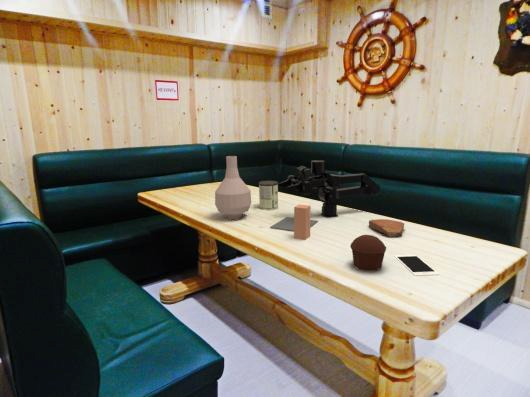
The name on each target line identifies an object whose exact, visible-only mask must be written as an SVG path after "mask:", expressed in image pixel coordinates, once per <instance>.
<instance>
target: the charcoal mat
mask: <svg viewBox="0 0 530 397" xmlns="http://www.w3.org/2000/svg"><path fill="white" fill-rule="evenodd" d="M318 222H319V220H316V219H310V229H311V228H312V227H313V226H315V225H316V224H317V223H318ZM269 229H274V230H281V231H287V232H293V233H294V217H291V216H286V217H284V218H283V219H281V220H279V221H278V222H276V223H274V224H273V225H270V227H269Z"/></svg>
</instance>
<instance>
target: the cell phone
mask: <svg viewBox="0 0 530 397" xmlns="http://www.w3.org/2000/svg"><path fill="white" fill-rule="evenodd" d="M394 258H396V260H397V261H399V263H401V264H402V265H403V266H404V267H405V268H406V269H407V270H408V271H409V272H410V273H411V274H412V275H413V276H414V277H415V276H416V277H419V276H420V277H421V276H422V277H423V276H424V277H425V276H426V277H427V276H438V275H440V273H439V272H438V271H437V270H435V269H434V268H432V266H431V265H429V264H428V263H427V262H425V261H424V260H423V259H422V258H421V257H419V256H418V255H417V254H397V255H394Z"/></svg>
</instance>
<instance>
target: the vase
mask: <svg viewBox="0 0 530 397" xmlns="http://www.w3.org/2000/svg"><path fill="white" fill-rule="evenodd" d="M237 158H238V156H236V155H228V156H227V155H226V156H225V159H226V170H225V175H224V178H223V180H222V182H221V183H220V184H219V186H218V187H217V188H216V189H215V191H214V205H215V207H216V209H217V211H218V213H221V214H223V215H226V218H228V219H231V220H236V219H240V218H241V215H243V214H244V213H246V212H249V210H250V208H251V204H252V195H251V194H252V193H251V192H252V191H251V189H250V188H249V187H248V185H246V183H245V182H244V181H243V179H242V178H241V177H240V173H239V169H238V159H237Z"/></svg>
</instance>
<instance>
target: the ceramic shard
mask: <svg viewBox="0 0 530 397" xmlns="http://www.w3.org/2000/svg"><path fill="white" fill-rule="evenodd" d="M368 226H369V228H372V229H373V230H375V231H377V232H380V233H383V234H385V235H386V236H387V237H388V238H396V237H402V236H403V231H404V228H405V222H402V221H398V220H392V219H384V218H381V219H371V220H370V219H369V220H368Z"/></svg>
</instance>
